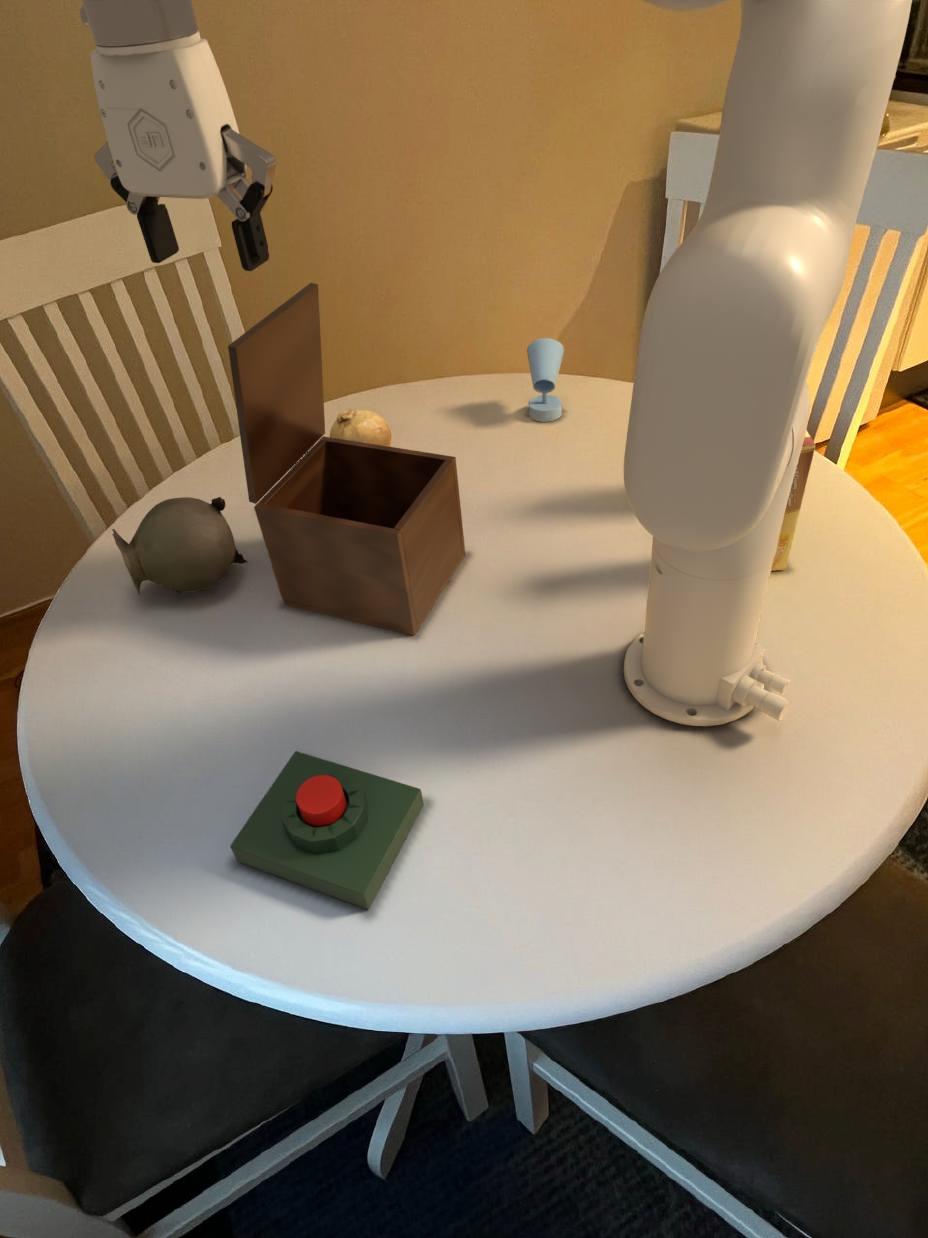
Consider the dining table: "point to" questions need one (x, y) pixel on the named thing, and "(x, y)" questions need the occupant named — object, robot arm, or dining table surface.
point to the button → (321, 800)
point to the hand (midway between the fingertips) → (210, 261)
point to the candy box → (794, 504)
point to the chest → (365, 532)
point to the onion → (361, 427)
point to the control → (330, 831)
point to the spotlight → (545, 378)
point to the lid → (279, 390)
